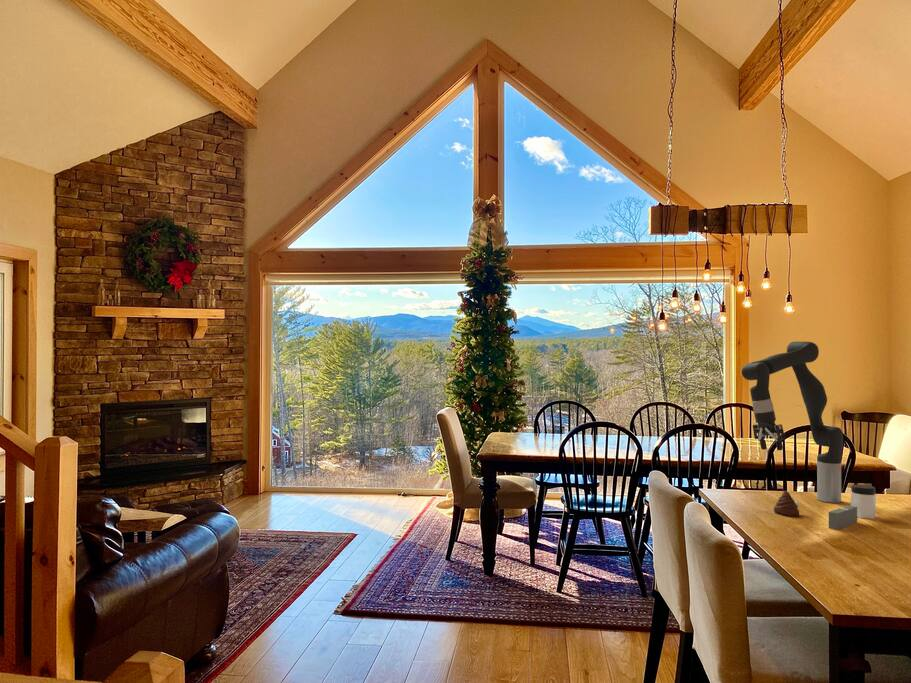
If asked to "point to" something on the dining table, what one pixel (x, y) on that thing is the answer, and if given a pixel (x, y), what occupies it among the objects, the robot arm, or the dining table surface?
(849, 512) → the rail
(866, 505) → the jar
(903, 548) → the dining table surface
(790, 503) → the poop emoji
